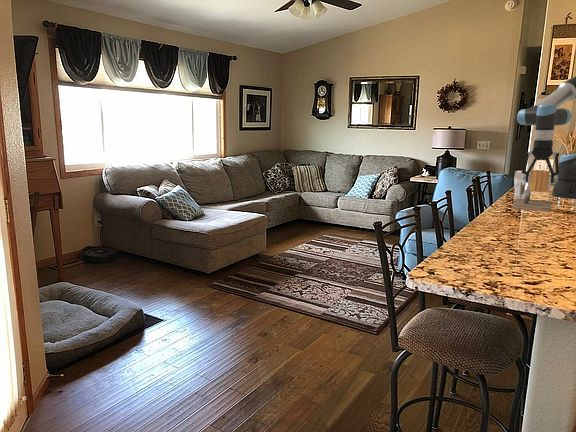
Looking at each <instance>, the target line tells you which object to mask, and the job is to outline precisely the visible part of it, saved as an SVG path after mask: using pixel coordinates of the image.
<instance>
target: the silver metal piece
mask: <svg viewBox="0 0 576 432" xmlns="http://www.w3.org/2000/svg"><path fill="white" fill-rule="evenodd" d="M527 187H528V182H526V186H525V193H524V202H523V203H528V201H530V200H531V192H532V191H530V190H529V189H527Z"/></svg>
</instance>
